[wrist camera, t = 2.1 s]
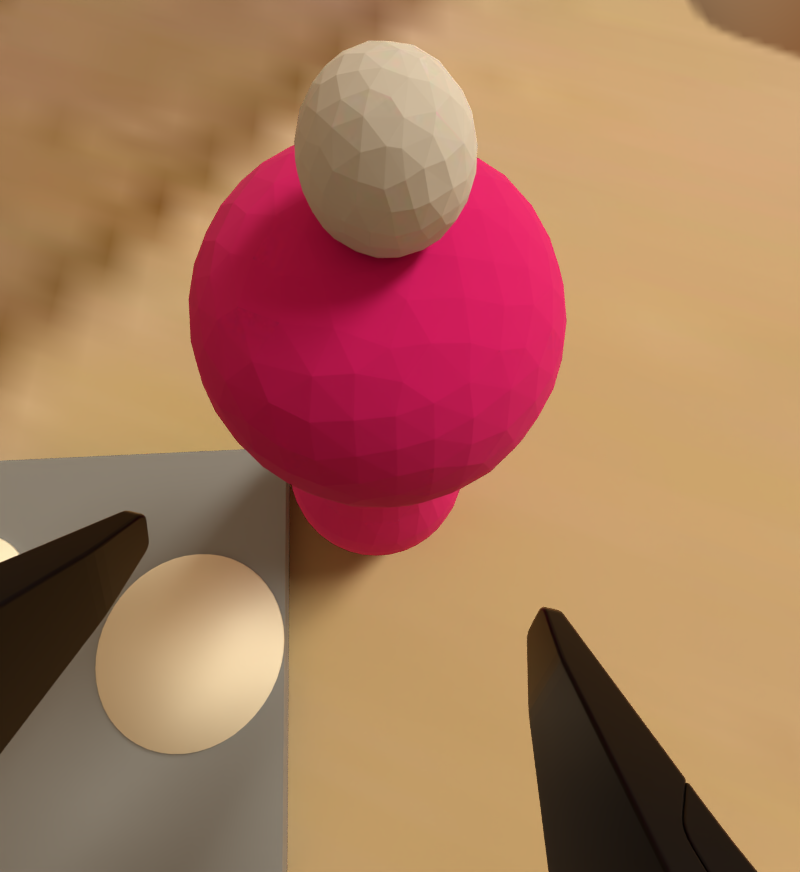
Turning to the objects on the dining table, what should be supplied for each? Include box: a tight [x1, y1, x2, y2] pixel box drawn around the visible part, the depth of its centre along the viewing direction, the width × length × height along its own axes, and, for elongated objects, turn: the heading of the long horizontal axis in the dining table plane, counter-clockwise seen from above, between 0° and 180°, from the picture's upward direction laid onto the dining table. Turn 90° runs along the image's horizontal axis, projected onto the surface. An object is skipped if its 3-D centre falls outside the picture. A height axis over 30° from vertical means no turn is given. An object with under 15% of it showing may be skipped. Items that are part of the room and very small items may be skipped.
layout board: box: [0, 449, 290, 872], centre depth 17 cm, size 17×18×6 cm
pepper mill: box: [189, 41, 566, 556], centre depth 13 cm, size 7×7×20 cm
